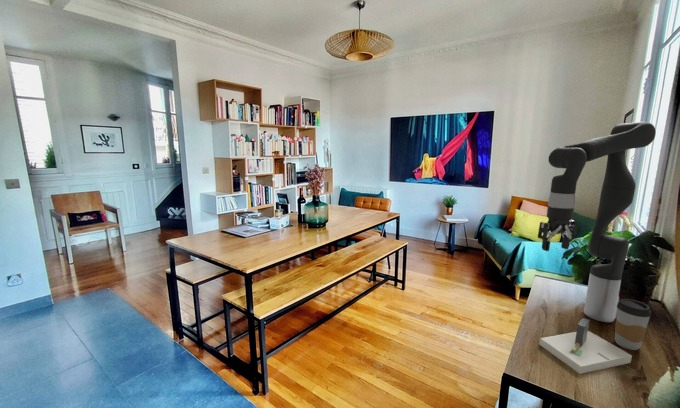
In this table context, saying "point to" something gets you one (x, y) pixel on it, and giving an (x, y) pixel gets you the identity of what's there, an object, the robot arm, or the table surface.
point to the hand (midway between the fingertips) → (555, 249)
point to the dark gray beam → (581, 334)
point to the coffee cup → (631, 323)
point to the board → (585, 352)
